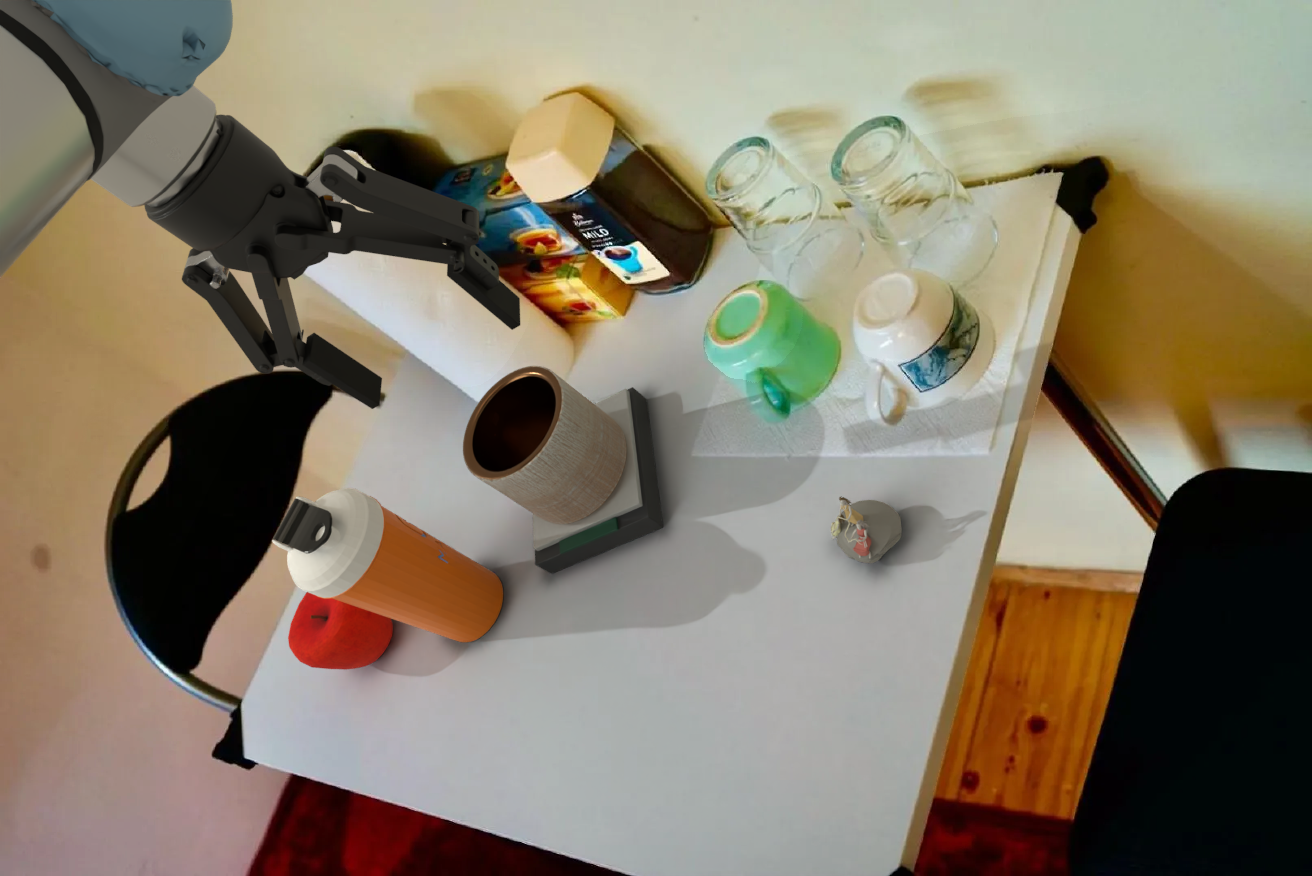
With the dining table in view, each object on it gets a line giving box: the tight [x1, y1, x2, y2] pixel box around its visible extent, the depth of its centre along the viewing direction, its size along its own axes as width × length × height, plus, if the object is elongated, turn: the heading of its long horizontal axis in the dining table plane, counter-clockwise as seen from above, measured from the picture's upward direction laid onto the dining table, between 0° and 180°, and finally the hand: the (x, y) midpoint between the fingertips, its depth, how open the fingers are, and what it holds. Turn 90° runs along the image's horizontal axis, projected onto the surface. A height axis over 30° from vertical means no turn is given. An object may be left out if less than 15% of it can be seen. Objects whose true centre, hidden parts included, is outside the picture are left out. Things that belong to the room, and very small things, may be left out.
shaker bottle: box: [271, 487, 504, 643], centre depth 77 cm, size 9×9×20 cm
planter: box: [462, 365, 627, 524], centre depth 77 cm, size 11×11×10 cm
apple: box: [287, 591, 394, 671], centre depth 87 cm, size 9×9×8 cm
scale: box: [532, 386, 664, 575], centre depth 81 cm, size 14×12×3 cm
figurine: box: [830, 495, 903, 564], centre depth 62 cm, size 5×4×6 cm
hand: (444, 355), depth 66 cm, fingers open, 13 cm apart
